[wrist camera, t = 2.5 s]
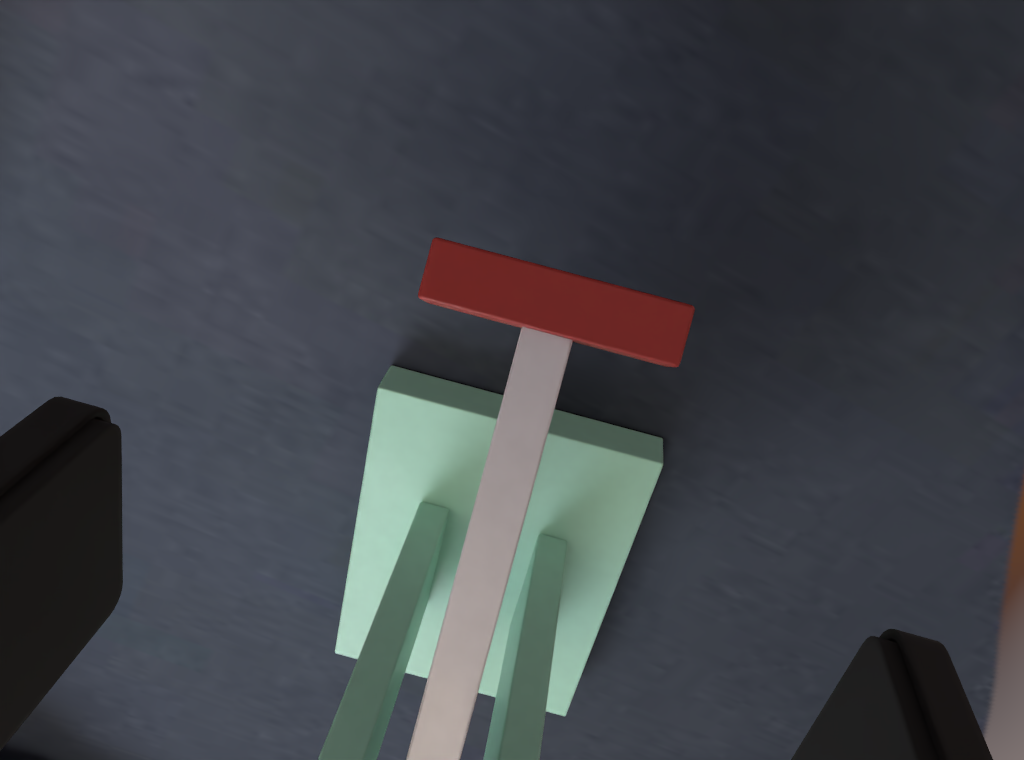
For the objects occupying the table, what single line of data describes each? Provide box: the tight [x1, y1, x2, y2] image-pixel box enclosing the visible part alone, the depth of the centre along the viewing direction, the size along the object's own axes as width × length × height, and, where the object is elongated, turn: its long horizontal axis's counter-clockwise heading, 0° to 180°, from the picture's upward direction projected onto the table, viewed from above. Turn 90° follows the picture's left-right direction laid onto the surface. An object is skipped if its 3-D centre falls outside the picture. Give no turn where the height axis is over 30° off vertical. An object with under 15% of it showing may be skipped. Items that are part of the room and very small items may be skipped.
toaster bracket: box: [318, 366, 663, 760], centre depth 23 cm, size 12×9×15 cm
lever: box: [406, 238, 695, 760], centre depth 18 cm, size 16×6×2 cm, turn 169°
